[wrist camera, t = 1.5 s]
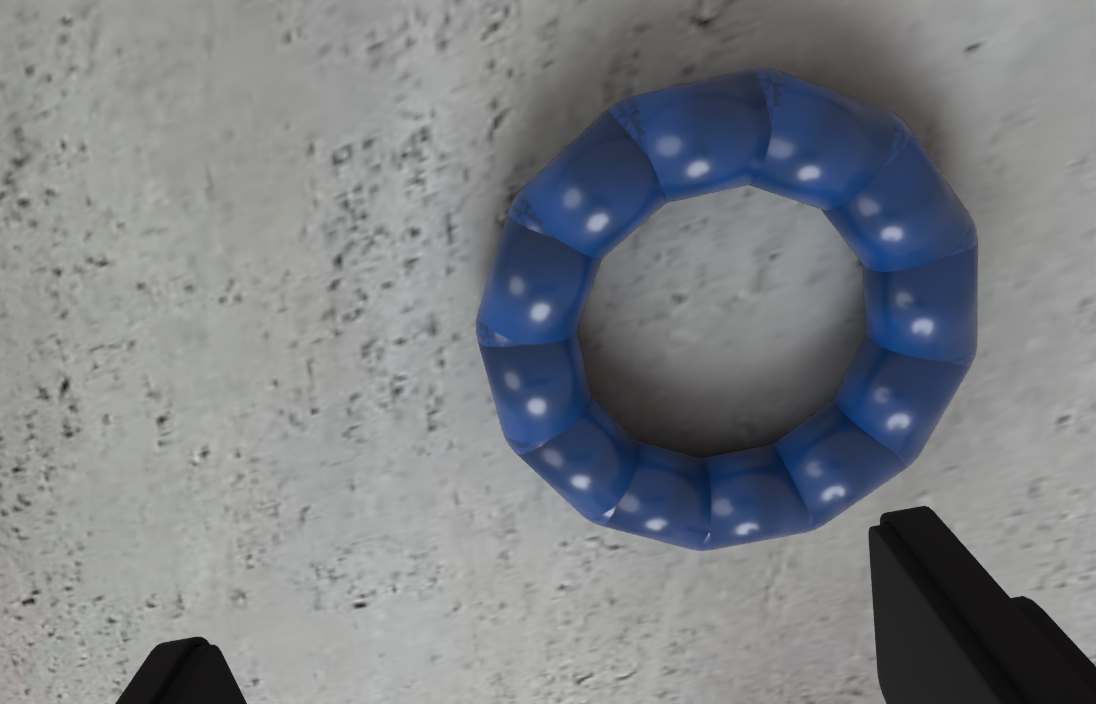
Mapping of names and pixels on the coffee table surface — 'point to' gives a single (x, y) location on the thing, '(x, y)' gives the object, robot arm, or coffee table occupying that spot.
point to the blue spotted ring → (697, 169)
